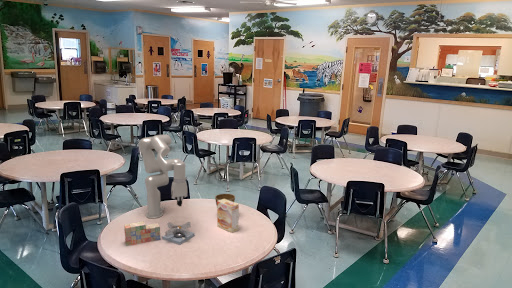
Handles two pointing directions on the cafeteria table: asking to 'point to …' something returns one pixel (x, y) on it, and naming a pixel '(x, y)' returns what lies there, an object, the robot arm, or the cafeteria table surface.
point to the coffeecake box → (227, 215)
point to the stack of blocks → (141, 233)
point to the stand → (178, 238)
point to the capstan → (178, 230)
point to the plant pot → (225, 197)
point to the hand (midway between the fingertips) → (179, 205)
